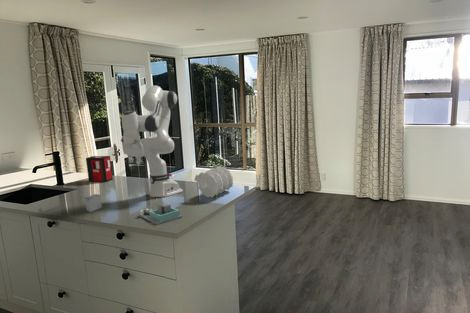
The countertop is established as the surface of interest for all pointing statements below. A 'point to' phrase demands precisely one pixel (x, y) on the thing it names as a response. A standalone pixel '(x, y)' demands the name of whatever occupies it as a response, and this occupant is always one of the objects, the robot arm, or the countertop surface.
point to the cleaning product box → (99, 168)
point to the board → (155, 219)
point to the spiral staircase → (214, 181)
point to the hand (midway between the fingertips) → (134, 163)
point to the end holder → (166, 216)
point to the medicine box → (93, 202)
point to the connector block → (164, 209)
